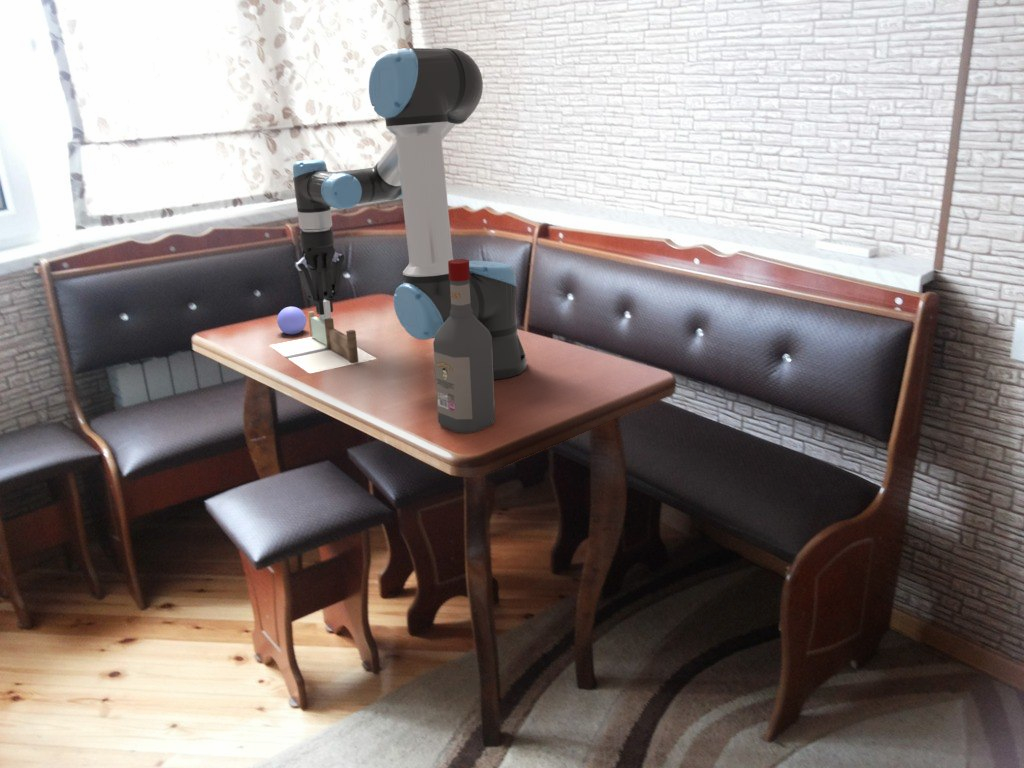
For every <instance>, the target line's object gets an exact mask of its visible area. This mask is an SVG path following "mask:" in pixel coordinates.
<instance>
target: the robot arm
mask: <svg viewBox="0 0 1024 768" xmlns="http://www.w3.org/2000/svg"><path fill="white" fill-rule="evenodd" d="M483 80H484V79H483V76H482V73H481V70H480V68H479V66H478V64H477V63H476V61H475V60H474V59H473V58H472V57H471V56H470V55H468V54H467V53H465V52H464V51H463V50H459V49H457V48H451V47H447V48H446V47H443V48H421V47H420V48H419V47H416V48H414V47H406V48H404V47H402V48H397V49H390V50H386V51H385V52H383V53H381V54H380V55H379V56H378V57H377V58H376V60H375V62H374V65H373V66H372V68H371V71H370V75H369V79H368V95H369V100H370V105H372V107H373V110H374V112H375V113H376V114H377V115H378V116H380V117H382V118H384V119H385V128H386V129H387V130H388V131H389V132H390V133H391V134H393V136H394V138H395V140H394V141H393V143H392V144H391V145H390V146H389V147H388V149H387V150H386V151H385V153H383V155H382V157H381V158H380V159H379V160H378V162H377V163H376V164H375V165H374V166H373V167H368V168H360V169H351V170H343V171H342V170H341V171H328V168H327V164H326V162H325V161H324V160H322V159H306V160H305V159H304V160H297V161H295V162H294V163H293V165H292V171H293V172H292V174H293V176H292V177H293V178H292V181H293V186H294V194H295V201H296V209H297V216H298V217H297V218H298V227H299V229H301V230H300V232H299V237H300V245H301V247H302V253H301V258H300V259H299V260H298V261H295V262H294V263H293V267H294V268H295V269H296V270H297V272H298V275H299V276H300V277H299V278H300V281H301V283H302V286H303V287H302V288H303V289H304V291H305V295H306V298H307V299H308V300H310V301H314V302H315V309H316V310H315V311H316V312H315V313H316V314H317V315H319V319H321V320H323V321H324V319H327V318H332V313H333V312H334V307H333V305H334V304H333V301H334V300H335V299H336V296H339V294H340V286H341V285H340V284H341V283H340V282H341V276H342V273H341V272H342V264H343V263H344V260H345V255H344V254H341V253H338V252H336V249H335V247H334V242H335V241H334V230H333V229H332V228H331V227H333V220H332V210H331V208H334V209H337V210H341V209H345V210H346V209H352V208H354V207H356V205H362V204H367V203H374V202H381V201H382V202H383V201H392V200H393V201H394V200H397V199H400V198H401V199H402V208H403V216H404V217H403V218H404V225H405V233H406V234H405V236H406V243H407V253H408V265H407V266H405V268H404V270H403V271H402V276H403V277H402V278H403V279H402V280H403V283H402V284H400V285H399V286H397V287H396V289H395V291H394V294H393V308H394V311H395V312H394V313H395V314H396V316H397V317H396V318H397V319H398V322H399V323H400V325H401V327H403V329H404V330H405V332H406V333H408V335H410V336H411V337H412V338H414V339H416V340H420V341H421V340H422V341H427V340H430V339H435V336H436V332H437V331H438V330H439V329H440V327H441V326H442V325H443V324H444V322H445V321H446V320H447V319H448V318H449V316H450V311H451V291H450V280H449V270H448V261H450V260H455V259H454V257H453V255H454V254H453V246H452V245H453V244H452V236H451V225H450V214H449V205H448V204H449V203H448V193H447V183H446V173H445V172H446V170H445V160H444V153H443V152H444V150H443V140H444V139H445V138H446V137H447V135H448V134H449V133H450V131H452V129H453V128H454V127H455V126H456V125H462V124H463V123H465V122H466V121H467V120H468V119H469V117H471V116H472V115H473V113H474V111H475V110H476V109H477V107H478V106H479V104H480V101H481V99H482V95H483V90H484V83H483V82H484V81H483ZM308 268H309V269H308ZM469 269H470V279H469V286H470V302H471V309H472V310H473V315H474V316H475V317H476V318H477V319H478V320H479V321H480V322H481V323H482V324H483V325H484V326H485V327H486V328H487V329H488V330H489V332H490V334H491V336H492V356H493V380H501V379H506V378H507V379H508V378H513V377H515V376H517V375H520V374H522V373H523V372H525V371H526V370H527V356H526V353H525V351H524V347H523V345H522V342H521V339H520V337H519V334H518V317H517V314H518V309H517V286H518V285H517V281H516V272H515V269H514V267H513V266H511V265H509V264H507V263H503V262H499V261H487V260H469ZM524 370H525V371H524Z"/></svg>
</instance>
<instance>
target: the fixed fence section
mask: <svg viewBox="0 0 1024 768" xmlns="http://www.w3.org/2000/svg"><path fill="white" fill-rule="evenodd" d="M324 322H325V331H326V340H327V349H331V350H333V351H334V352H336V353H338V354H339V355H341V356H343V357H344V358H346V359H348V360H349V362H350V363H356V362H358V352H357V348H358V344H357V343H358V342H357V333H356V332H357V331H356V330H355V329H349V330H346V334H345V333H343V332H341V331H339V330H338V329H337V328H335V324H334V323H335V322H334V318H332V317H331V318H327V319H324ZM356 364H357V363H356Z"/></svg>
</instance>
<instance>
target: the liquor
mask: <svg viewBox="0 0 1024 768" xmlns="http://www.w3.org/2000/svg"><path fill="white" fill-rule="evenodd" d="M469 261H470V260H469V259H465V258H463V259H462V258H461V259H460V258H459V259H458V258H457V259H454V260H450V261H448V270H449V280H450V291H451V311H450V316H449V318H448V319H447V320H446V321H445V322H444V324H443V325H442V326H441V327H440V329H439V330H438V331H437V332H436V336H435V338H433V358H434V373H435V374H434V375H435V388H436V389H435V391H436V405H437V421H438V424H439V425H440V426H441V428H445V429H447V430H450V431H452V432H454V433H457V434H473V433H476V432H478V431H480V430H483V429H486V428H489V427H492V426H493V424H494V422H495V418H496V413H495V412H496V410H495V407H496V405H495V388H494V387H495V386H494V384H495V383H494V379H493V356H492V336H491V334H490V332H489V330H488V329H487V328H486V327H485V326H484V325H483V324H482V323H481V322H480V321H479V320H478V319H477V318H476V317H475V316H474V315H473V310H472V309H471V302H470V286H469V279H470V269H469Z"/></svg>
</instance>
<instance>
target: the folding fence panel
mask: <svg viewBox="0 0 1024 768" xmlns="http://www.w3.org/2000/svg"><path fill="white" fill-rule="evenodd" d="M315 311H316V310H315ZM315 311H313V310H310V311H308V312H307V315H308V316H307V317H308V323H309V331H310V337H314V338H315V339H317V340H319V341H320V342H322V343H324V344H325V345H327V340H326V331H325V322H324V321H323V320H321V319H320V317H317V316H316V312H315Z"/></svg>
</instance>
